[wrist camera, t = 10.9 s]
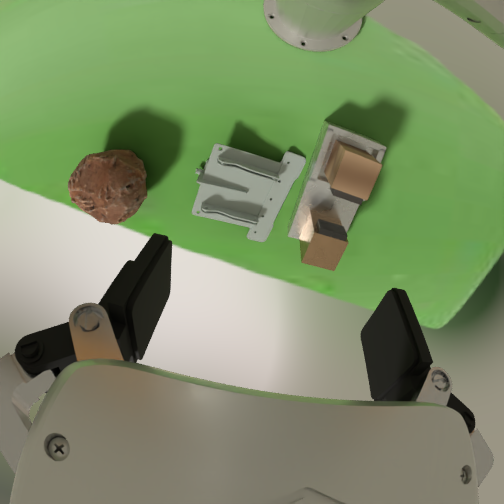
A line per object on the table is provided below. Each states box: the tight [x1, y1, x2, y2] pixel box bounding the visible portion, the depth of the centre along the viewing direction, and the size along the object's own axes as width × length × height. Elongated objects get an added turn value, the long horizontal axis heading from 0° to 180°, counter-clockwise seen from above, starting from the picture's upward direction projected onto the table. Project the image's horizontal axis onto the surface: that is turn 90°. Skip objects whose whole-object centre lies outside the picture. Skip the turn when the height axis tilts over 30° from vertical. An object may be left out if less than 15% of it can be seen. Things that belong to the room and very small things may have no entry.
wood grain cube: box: [324, 140, 382, 205], centre depth 31 cm, size 5×5×6 cm
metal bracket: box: [192, 143, 306, 242], centre depth 40 cm, size 14×6×15 cm
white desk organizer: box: [288, 121, 387, 271], centre depth 35 cm, size 17×8×9 cm, turn 166°
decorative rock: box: [68, 149, 147, 224], centre depth 36 cm, size 13×11×10 cm
